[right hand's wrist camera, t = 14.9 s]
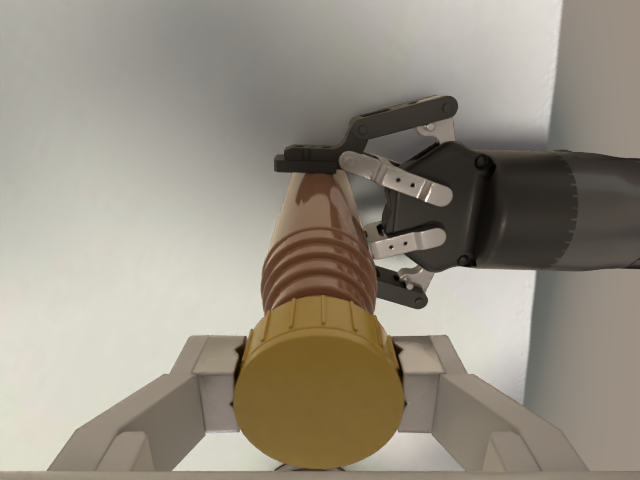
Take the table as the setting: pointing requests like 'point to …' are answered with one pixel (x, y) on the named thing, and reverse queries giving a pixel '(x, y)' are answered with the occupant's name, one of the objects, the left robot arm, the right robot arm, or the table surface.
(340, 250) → the bottle
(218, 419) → the right robot arm
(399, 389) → the cap
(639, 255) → the left robot arm
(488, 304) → the table surface
